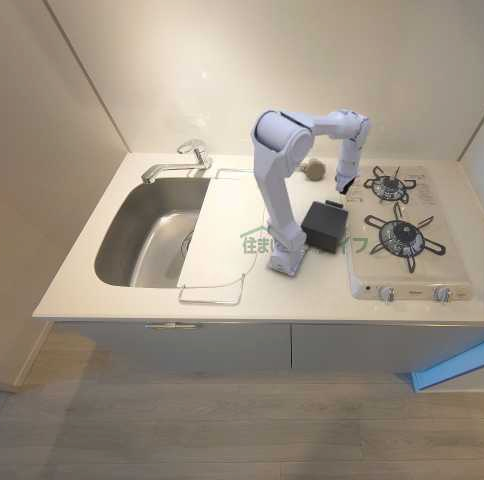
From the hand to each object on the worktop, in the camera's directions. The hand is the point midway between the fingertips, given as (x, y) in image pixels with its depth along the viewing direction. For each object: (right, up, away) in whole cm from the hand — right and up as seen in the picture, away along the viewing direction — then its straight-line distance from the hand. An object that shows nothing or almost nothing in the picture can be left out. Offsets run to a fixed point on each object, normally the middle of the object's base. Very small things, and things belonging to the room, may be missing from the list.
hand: (343, 192), depth 83 cm
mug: (-9, +11, +20) cm, 25 cm away
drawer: (-5, -10, +4) cm, 12 cm away
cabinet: (-6, -13, +3) cm, 15 cm away
